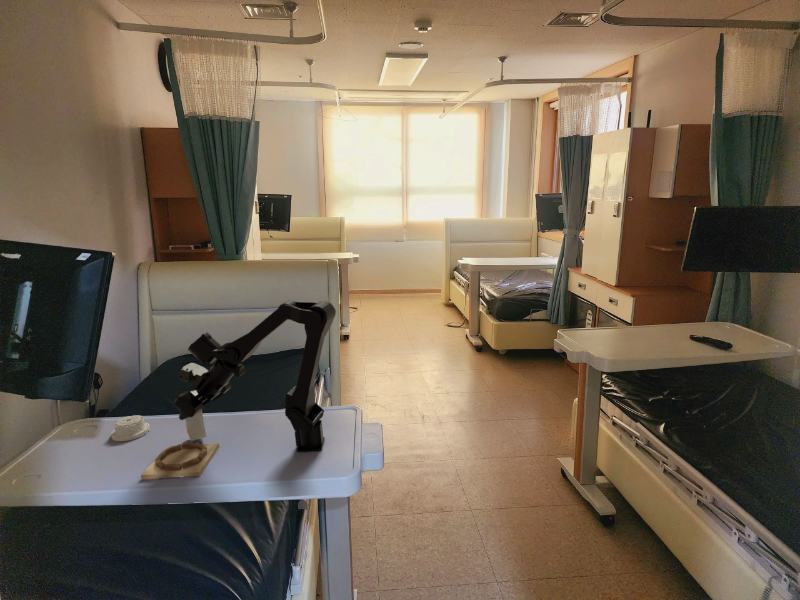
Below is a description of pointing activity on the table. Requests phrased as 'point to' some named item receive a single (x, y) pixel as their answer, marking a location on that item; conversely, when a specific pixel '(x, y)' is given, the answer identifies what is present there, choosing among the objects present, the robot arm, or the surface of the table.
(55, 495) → the table surface
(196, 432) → the skincare box
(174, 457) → the board
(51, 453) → the table surface
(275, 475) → the table surface
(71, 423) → the table surface
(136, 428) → the mechanical component
